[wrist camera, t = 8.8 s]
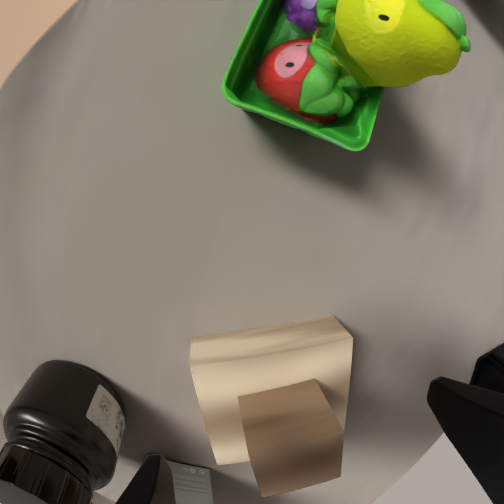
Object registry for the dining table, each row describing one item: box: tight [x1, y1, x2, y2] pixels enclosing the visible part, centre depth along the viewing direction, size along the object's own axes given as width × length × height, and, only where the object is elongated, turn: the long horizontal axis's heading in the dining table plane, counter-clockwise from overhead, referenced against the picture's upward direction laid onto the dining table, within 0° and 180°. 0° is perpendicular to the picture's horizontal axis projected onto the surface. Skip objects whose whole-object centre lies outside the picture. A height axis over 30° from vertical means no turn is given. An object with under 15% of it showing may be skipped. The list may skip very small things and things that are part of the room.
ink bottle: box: [0, 360, 126, 504], centre depth 14 cm, size 10×9×12 cm
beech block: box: [190, 315, 353, 465], centre depth 20 cm, size 10×10×4 cm
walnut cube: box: [237, 378, 344, 498], centre depth 16 cm, size 5×5×5 cm
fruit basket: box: [222, 0, 471, 152], centre depth 12 cm, size 11×9×11 cm
